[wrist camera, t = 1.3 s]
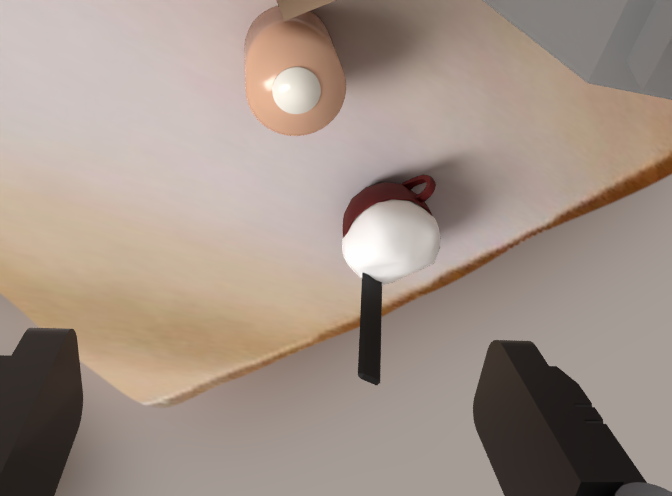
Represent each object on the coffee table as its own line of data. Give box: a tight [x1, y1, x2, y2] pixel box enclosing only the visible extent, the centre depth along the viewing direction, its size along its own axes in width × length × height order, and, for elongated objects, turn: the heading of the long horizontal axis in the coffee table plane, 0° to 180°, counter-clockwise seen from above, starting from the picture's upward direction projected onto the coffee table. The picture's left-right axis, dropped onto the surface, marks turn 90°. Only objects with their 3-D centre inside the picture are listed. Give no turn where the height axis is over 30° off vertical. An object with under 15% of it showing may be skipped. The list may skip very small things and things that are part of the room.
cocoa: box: [342, 175, 441, 385], centre depth 38 cm, size 10×6×12 cm, turn 120°
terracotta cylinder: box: [245, 6, 346, 136], centre depth 32 cm, size 5×5×6 cm
